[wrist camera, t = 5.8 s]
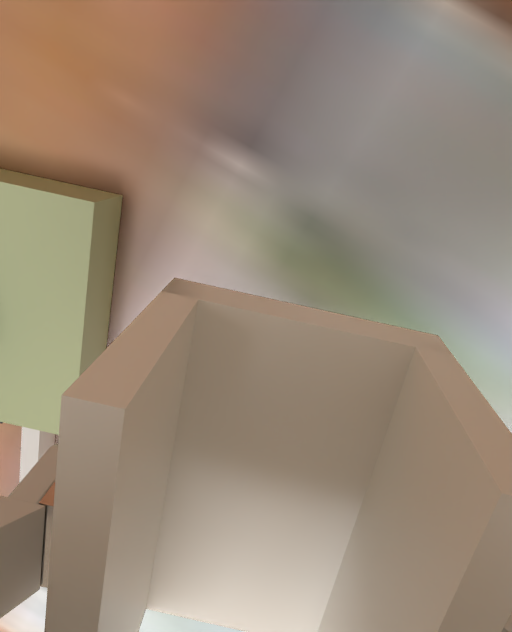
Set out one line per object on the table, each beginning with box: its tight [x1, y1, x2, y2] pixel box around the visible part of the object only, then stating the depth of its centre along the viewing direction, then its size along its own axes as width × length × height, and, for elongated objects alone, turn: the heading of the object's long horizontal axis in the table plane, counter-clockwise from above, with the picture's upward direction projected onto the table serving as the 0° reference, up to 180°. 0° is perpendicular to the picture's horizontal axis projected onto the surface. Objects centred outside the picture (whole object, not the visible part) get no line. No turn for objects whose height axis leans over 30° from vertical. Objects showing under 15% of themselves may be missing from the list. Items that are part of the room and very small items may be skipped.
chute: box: [45, 278, 512, 632], centre depth 9 cm, size 8×6×5 cm
